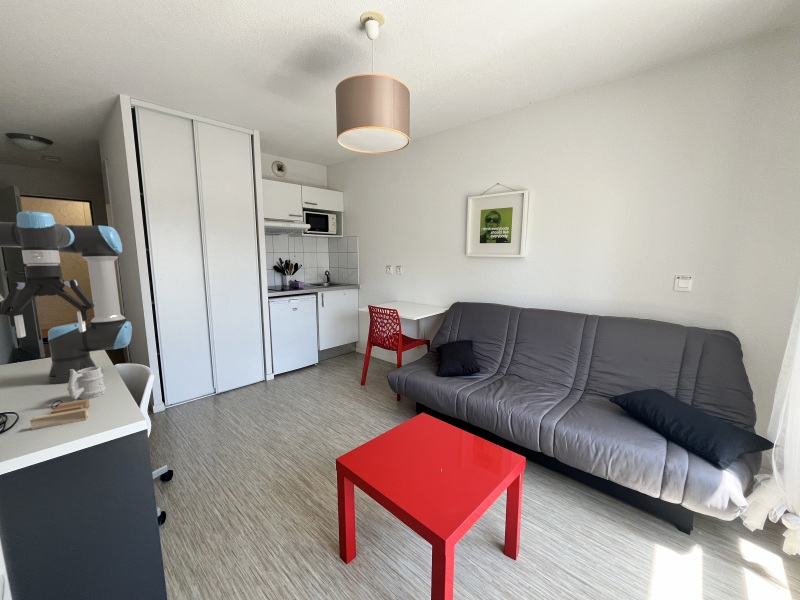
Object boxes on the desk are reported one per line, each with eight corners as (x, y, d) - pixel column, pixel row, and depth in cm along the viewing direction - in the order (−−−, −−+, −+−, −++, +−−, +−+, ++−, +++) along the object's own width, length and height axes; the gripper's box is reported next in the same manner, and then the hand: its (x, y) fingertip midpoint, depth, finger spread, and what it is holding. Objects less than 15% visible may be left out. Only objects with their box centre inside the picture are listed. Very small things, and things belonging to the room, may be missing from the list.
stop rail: (35, 426, 98) (33, 417, 97) (88, 417, 103) (87, 408, 103) (31, 429, 96) (30, 420, 96) (86, 419, 102) (84, 410, 101)
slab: (61, 412, 108) (60, 403, 108) (89, 407, 111) (88, 398, 111) (52, 421, 102) (50, 411, 102) (82, 415, 105) (80, 406, 105)
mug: (112, 390, 125) (107, 360, 123) (82, 404, 113) (77, 371, 111) (92, 391, 125) (87, 360, 123) (60, 404, 113) (55, 371, 111)
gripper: (-28, 266, 89) (-15, 342, 91) (93, 263, 101) (102, 331, 103) (-11, 266, 95) (1, 337, 98) (101, 264, 107) (109, 327, 110)
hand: (53, 334), depth 100 cm, fingers open, 13 cm apart
